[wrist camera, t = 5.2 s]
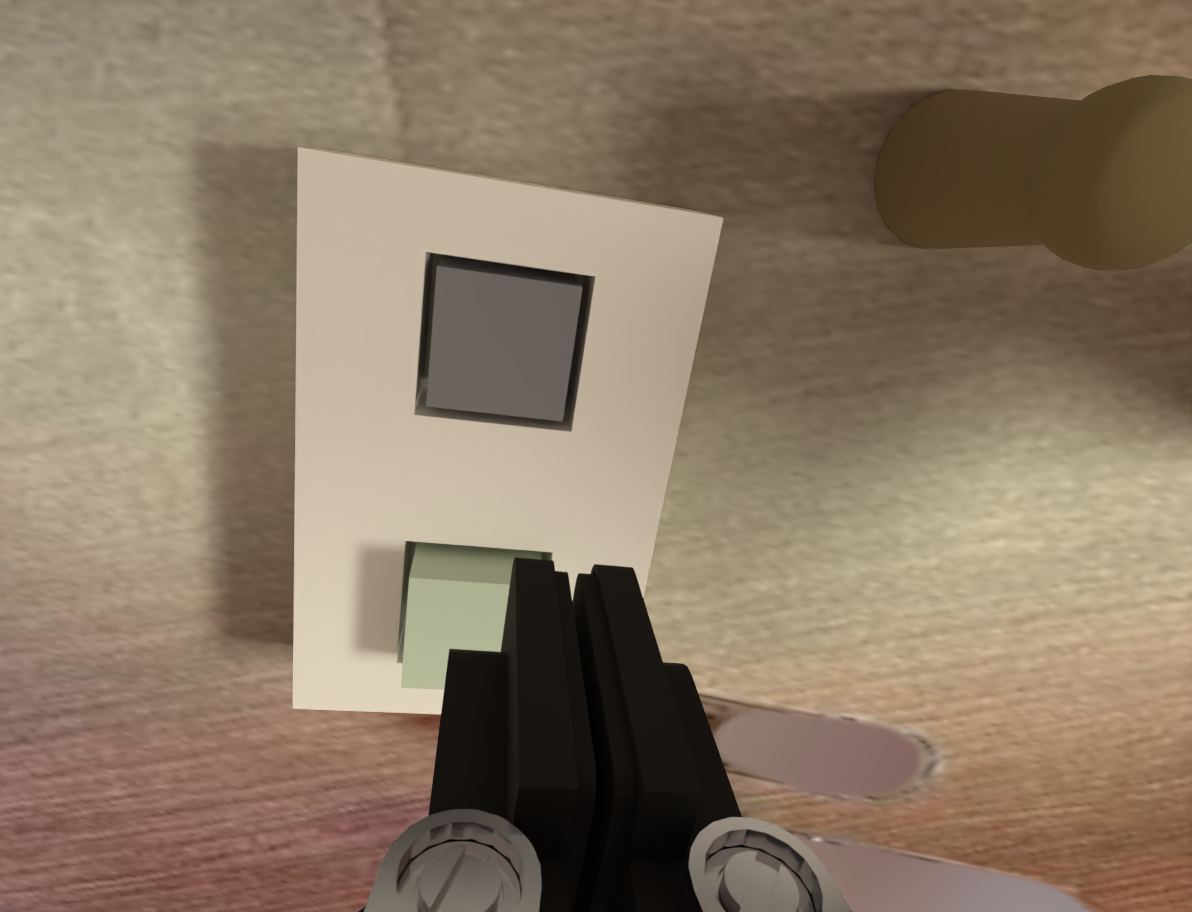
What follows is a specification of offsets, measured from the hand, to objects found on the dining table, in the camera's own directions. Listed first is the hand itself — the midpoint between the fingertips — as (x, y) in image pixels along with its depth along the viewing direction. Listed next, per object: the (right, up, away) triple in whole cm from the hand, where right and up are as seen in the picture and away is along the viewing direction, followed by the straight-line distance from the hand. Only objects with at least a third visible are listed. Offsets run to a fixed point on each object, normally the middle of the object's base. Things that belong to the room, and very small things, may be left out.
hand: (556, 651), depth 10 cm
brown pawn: (+15, +14, +19) cm, 28 cm away
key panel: (-4, +3, +21) cm, 22 cm away
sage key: (-5, -3, +20) cm, 21 cm away
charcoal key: (-3, +8, +18) cm, 20 cm away
